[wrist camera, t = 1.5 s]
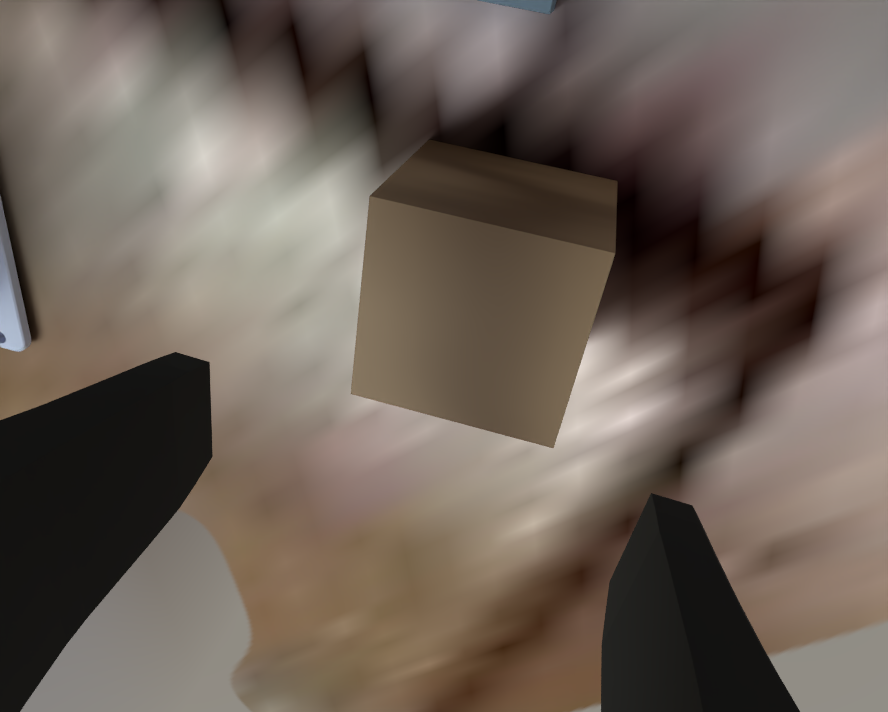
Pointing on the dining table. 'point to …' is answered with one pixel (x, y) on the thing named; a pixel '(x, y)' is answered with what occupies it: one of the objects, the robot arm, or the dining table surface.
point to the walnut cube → (482, 288)
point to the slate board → (528, 4)
